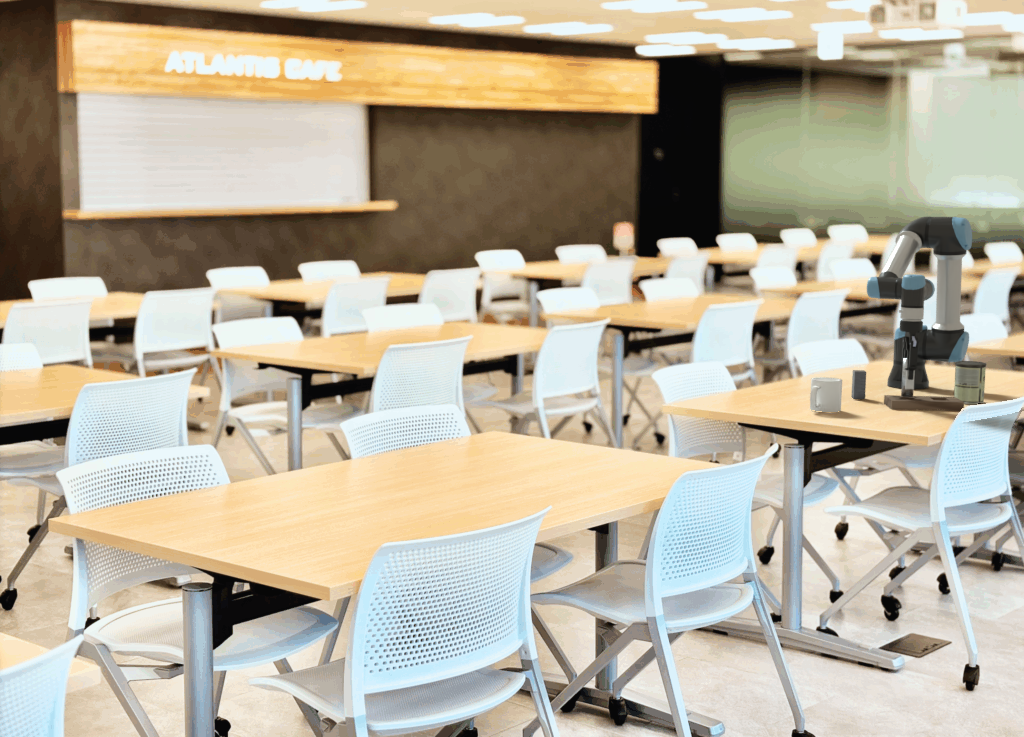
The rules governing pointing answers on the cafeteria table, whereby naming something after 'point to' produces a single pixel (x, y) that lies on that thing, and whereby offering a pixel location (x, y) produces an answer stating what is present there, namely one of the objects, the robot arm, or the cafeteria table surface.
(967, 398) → the coffee can
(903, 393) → the grey cylinder
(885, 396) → the socket block
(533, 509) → the cafeteria table surface
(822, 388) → the mug
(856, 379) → the square bit
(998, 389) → the cafeteria table surface
